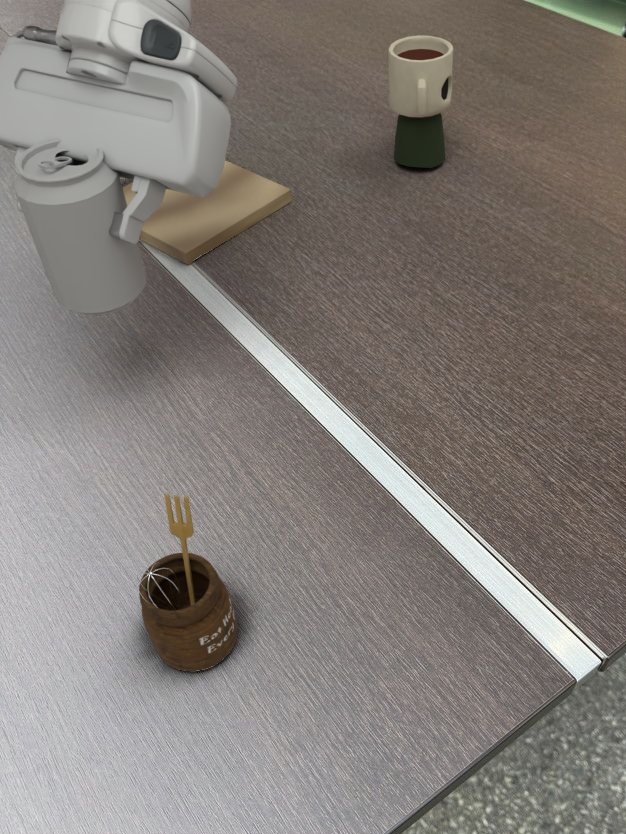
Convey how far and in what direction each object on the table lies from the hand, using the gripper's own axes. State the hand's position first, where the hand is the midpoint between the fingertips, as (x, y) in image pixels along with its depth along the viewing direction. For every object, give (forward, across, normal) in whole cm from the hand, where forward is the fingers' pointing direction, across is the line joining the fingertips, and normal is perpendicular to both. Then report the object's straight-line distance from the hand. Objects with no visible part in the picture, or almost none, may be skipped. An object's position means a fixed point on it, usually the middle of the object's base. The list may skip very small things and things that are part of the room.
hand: (76, 227), depth 64 cm
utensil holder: (+26, +20, -2) cm, 33 cm away
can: (+4, 0, +5) cm, 7 cm away
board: (-8, -12, +32) cm, 35 cm away
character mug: (-22, +8, +46) cm, 51 cm away
